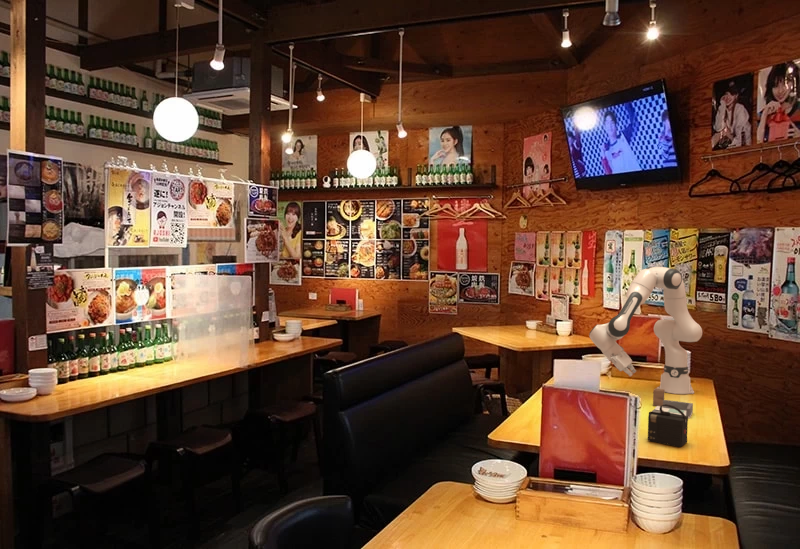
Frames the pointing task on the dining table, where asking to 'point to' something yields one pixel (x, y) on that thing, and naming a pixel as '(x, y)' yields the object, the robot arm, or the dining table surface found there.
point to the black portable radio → (667, 427)
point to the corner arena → (683, 406)
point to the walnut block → (658, 397)
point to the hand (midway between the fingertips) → (633, 373)
